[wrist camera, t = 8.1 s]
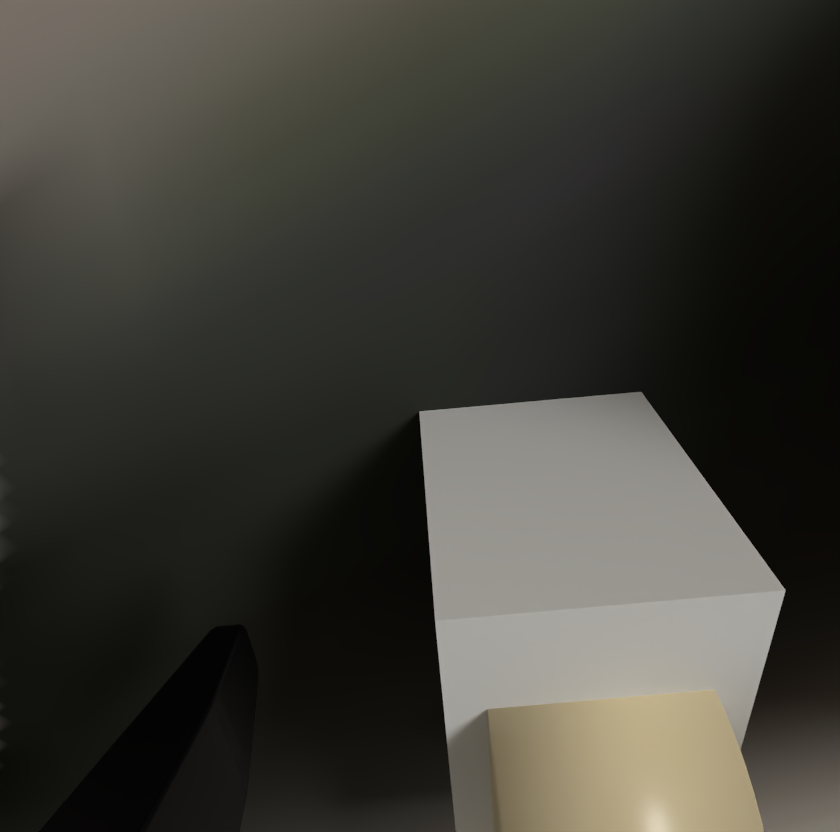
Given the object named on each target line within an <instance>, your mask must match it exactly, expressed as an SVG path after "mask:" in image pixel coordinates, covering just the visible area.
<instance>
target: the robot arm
mask: <svg viewBox="0 0 840 832" xmlns="http://www.w3.org/2000/svg"><path fill="white" fill-rule="evenodd" d="M257 687H258V665H257V661H256V658H255V655H254V652H253V649H252V645H251V642H250V639H249V636H248V633H247V630H246V629H245V627H244V626H243V625H239V624H237V625H227V626H217V627H215V628H213V629H212V630H211V631H210V632H209V633H208V634H207V635H206V636H205V637H204V638H203V640H202V641H201V642H200V643H199V644H198V645H197V647H196V648H195V649H194V650H193V651H192V653H191V654H190V655H189V656H188V657H187V658H186V660H185V661H184V662H183V663H182V664H181V665H180V667H179V668H178V669H177V670H176V671H175V672H174V674H173V675H172V676H171V677H170V678H169V679H168V681H167V682H166V683H165V684H164V685H163V686H162V688H161V689H160V690H159V691H158V692H157V694H156V695H155V696H154V697H153V698H152V699H151V701H150V702H149V703H148V704H147V705H146V706H145V708H144V709H143V710H142V711H141V712H140V713H139V715H138V716H137V717H136V718H135V719H134V720H133V722H132V723H131V724H130V725H129V726H128V727H127V729H126V730H125V731H124V732H123V733H122V735H121V736H120V737H119V738H118V739H117V740H116V742H115V743H114V744H113V745H112V746H111V747H110V749H109V750H108V751H107V752H106V753H105V754H104V756H103V757H102V758H101V759H100V760H99V761H98V763H97V764H96V765H95V766H94V767H93V768H92V770H91V771H90V772H89V773H88V774H87V776H86V777H85V778H84V779H83V780H82V781H81V783H80V784H79V785H78V786H77V787H76V788H75V790H74V791H73V792H72V793H71V794H70V795H69V797H68V798H67V799H66V800H65V801H64V802H63V804H62V805H61V806H60V807H59V808H58V809H57V811H56V812H55V813H54V814H53V815H52V817H51V818H50V819H49V820H48V821H47V822H46V824H45V825H44V826H43V827H42V828H41V829H40V831H39V832H239V831H240V826H241V821H242V816H243V811H244V806H245V800H246V795H247V788H248V779H249V770H250V760H251V749H252V739H253V729H254V718H255V708H256V698H257Z"/></svg>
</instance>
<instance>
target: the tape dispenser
mask: <svg viewBox="0 0 840 832" xmlns="http://www.w3.org/2000/svg"><path fill="white" fill-rule="evenodd" d="M419 415H420V428H421V442H422V455H423V468H424V481H425V495H426V508H427V521H428V534H429V548H430V561H431V574H432V587H433V600H434V614H435V626H436V636H437V646H438V656H439V666H440V676H441V687H442V697H443V707H444V717H445V727H446V738H447V748H448V758H449V768H450V778H451V788H452V799H453V809H454V819H455V829H456V832H764V829H763V825H762V820H761V817H760V813H759V809H758V806H757V802H756V798H755V794H754V791H753V787H752V784H751V781H750V778H749V775H748V771H747V768H746V765H745V762H744V759H743V756H742V754H741V751H740V750H741V746H742V743H743V739H744V736H745V732H746V729H747V725H748V722H749V718H750V715H751V711H752V707H753V704H754V700H755V697H756V693H757V690H758V686H759V683H760V679H761V676H762V672H763V669H764V665H765V662H766V658H767V655H768V651H769V648H770V644H771V641H772V637H773V633H774V630H775V626H776V623H777V619H778V616H779V612H780V609H781V605H782V602H783V598H784V595H785V591H786V590H785V589H784V587H783V586H782V584H781V583H780V582H779V580H778V579H777V578H776V576H775V575H774V573H773V572H772V571H771V569H770V568H769V567H768V565H767V564H766V562H765V561H764V560H763V558H762V557H761V556H760V554H759V553H758V551H757V550H756V549H755V547H754V546H753V545H752V543H751V542H750V540H749V539H748V538H747V536H746V535H745V534H744V532H743V531H742V529H741V528H740V527H739V525H738V524H737V523H736V521H735V520H734V519H733V517H732V516H731V514H730V513H729V512H728V510H727V509H726V508H725V506H724V505H723V503H722V502H721V501H720V499H719V498H718V497H717V495H716V494H715V492H714V491H713V490H712V488H711V487H710V486H709V484H708V483H707V481H706V480H705V479H704V477H703V476H702V475H701V473H700V472H699V470H698V469H697V468H696V466H695V465H694V464H693V462H692V461H691V459H690V458H689V457H688V455H687V454H686V453H685V451H684V450H683V448H682V447H681V446H680V444H679V443H678V442H677V440H676V439H675V438H674V436H673V435H672V433H671V432H670V431H669V429H668V428H667V427H666V425H665V424H664V422H663V421H662V420H661V418H660V417H659V416H658V414H657V413H656V411H655V410H654V409H653V407H652V406H651V405H650V403H649V402H648V400H647V399H646V398H645V396H644V395H643V394H642V392H633V393H622V394H611V395H599V396H588V397H577V398H566V399H554V400H543V401H532V402H521V403H510V404H498V405H487V406H476V407H465V408H453V409H442V410H431V411H420V412H419Z"/></svg>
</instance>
